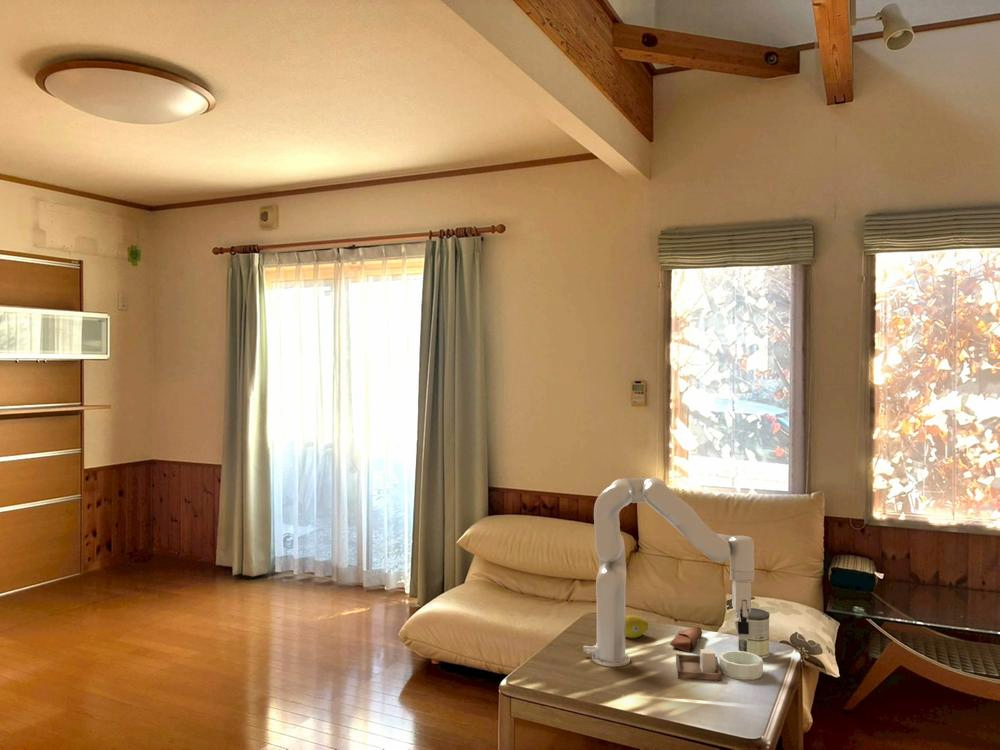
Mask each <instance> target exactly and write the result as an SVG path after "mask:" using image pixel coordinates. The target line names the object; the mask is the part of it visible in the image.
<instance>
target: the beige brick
mask: <svg viewBox="0 0 1000 750" xmlns="http://www.w3.org/2000/svg"><path fill="white" fill-rule="evenodd" d="M699 656H700V669H701V670H702V672H715V657H716V652H715V651H714V649H705V648H704V649H702V648H701V649H699Z"/></svg>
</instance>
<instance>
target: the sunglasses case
mask: <svg viewBox="0 0 1000 750" xmlns="http://www.w3.org/2000/svg"><path fill="white" fill-rule="evenodd" d="M702 636H703V631H702V628H701V627H700V626H691V627H689V628H685V629H680V630H679V631H678V633H677V634H675V636H674V638H672V640H671V641H670V642H669V645H670V646H672V647H674V648H676V649H678V650H681V651H683V652H684V651H685V652H688V653H691V652H692V651H694V649H695V647H696V645H697V644H698V642H699V641H700V639H701V638H702Z"/></svg>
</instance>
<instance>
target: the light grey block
mask: <svg viewBox="0 0 1000 750" xmlns="http://www.w3.org/2000/svg"><path fill="white" fill-rule="evenodd" d="M736 617H737V616H736ZM736 617H733V621H734V625H735V629H736V634H737V637H738V640H739V639H740V640H742V639H747V638H752V635H751V631H750V627H749V634H739V633H738V621H739V617H737V618H736Z"/></svg>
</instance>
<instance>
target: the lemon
mask: <svg viewBox="0 0 1000 750" xmlns="http://www.w3.org/2000/svg"><path fill="white" fill-rule="evenodd" d="M648 628H649V622H648V621H646V620H644V619H643V618H642V617H640V616H638V615H632V614H631V615H625V638H626V639H627V638H628V639H637V637H638V638H640V637H641V636H643V635H644V634H645V632H646V631H647V630H648Z"/></svg>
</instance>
